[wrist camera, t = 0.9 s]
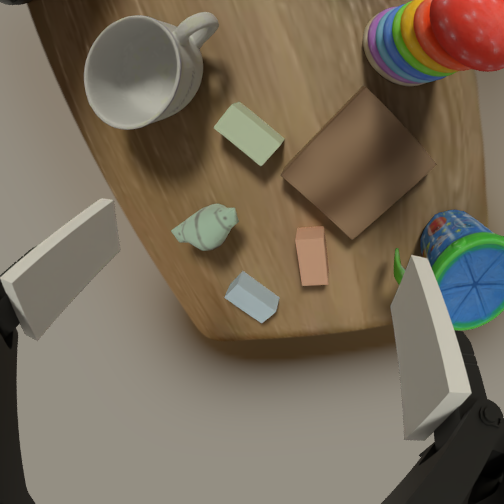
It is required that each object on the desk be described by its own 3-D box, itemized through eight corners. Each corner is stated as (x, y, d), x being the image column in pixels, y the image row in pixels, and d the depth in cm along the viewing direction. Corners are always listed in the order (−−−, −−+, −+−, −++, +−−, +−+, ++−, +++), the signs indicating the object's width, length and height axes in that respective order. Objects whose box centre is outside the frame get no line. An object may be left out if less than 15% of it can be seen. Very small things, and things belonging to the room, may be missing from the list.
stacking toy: (421, 100, 25) (523, 141, 10) (349, 61, 25) (383, 42, 10) (449, 38, 21) (565, 22, 5) (378, -3, 21) (434, -81, 5)
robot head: (243, 185, 35) (225, 210, 29) (258, 217, 36) (244, 247, 31) (184, 207, 38) (159, 234, 32) (200, 236, 39) (178, 266, 34)
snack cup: (509, 201, 28) (552, 245, 19) (488, 275, 33) (516, 329, 24) (392, 188, 31) (413, 234, 23) (381, 271, 36) (391, 331, 28)
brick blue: (230, 283, 43) (224, 297, 40) (243, 270, 41) (237, 284, 38) (265, 308, 44) (261, 323, 41) (279, 296, 42) (276, 311, 40)
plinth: (283, 168, 33) (280, 175, 31) (362, 86, 26) (366, 87, 24) (350, 228, 35) (352, 239, 32) (429, 157, 28) (437, 164, 26)
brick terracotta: (297, 227, 36) (295, 240, 34) (324, 225, 35) (323, 238, 33) (304, 271, 39) (302, 285, 37) (328, 269, 38) (328, 284, 36)
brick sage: (222, 122, 32) (213, 127, 29) (239, 101, 30) (231, 104, 28) (266, 158, 33) (260, 166, 30) (284, 138, 31) (281, 144, 29)
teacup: (144, 129, 34) (102, 147, 27) (114, 50, 29) (67, 52, 22) (256, 85, 29) (235, 89, 22) (221, -5, 24) (190, -24, 17)
